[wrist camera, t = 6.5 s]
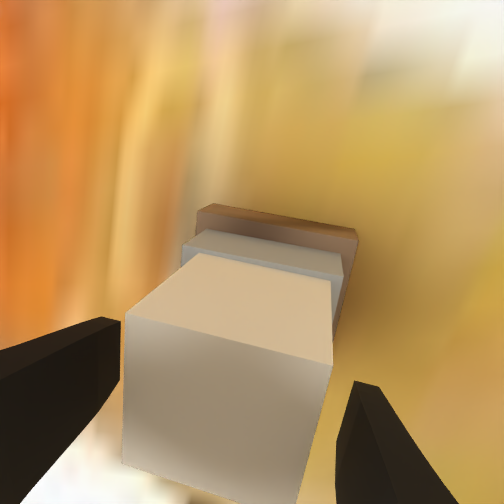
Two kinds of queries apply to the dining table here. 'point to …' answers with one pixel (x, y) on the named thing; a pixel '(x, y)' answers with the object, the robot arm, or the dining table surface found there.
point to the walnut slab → (285, 235)
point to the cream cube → (227, 378)
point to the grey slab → (269, 256)
